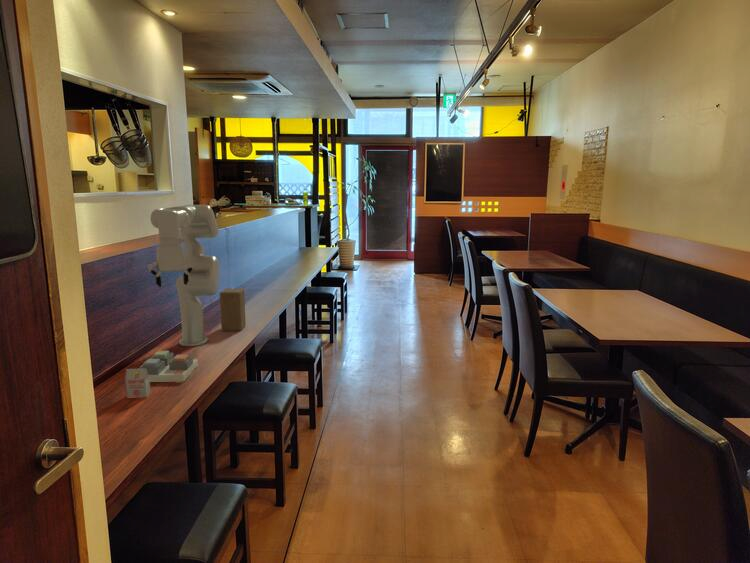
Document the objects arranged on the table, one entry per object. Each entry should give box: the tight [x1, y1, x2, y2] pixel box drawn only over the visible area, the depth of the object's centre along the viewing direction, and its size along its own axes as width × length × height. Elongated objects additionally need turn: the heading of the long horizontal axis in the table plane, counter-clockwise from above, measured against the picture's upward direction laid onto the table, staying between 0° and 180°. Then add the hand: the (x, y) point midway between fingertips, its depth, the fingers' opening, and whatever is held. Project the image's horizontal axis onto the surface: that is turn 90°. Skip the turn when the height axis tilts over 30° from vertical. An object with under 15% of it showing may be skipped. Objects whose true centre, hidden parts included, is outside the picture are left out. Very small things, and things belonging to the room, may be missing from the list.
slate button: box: [143, 358, 160, 366], centre depth 178 cm, size 4×4×2 cm
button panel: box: [138, 352, 199, 382], centre depth 183 cm, size 16×16×6 cm
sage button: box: [153, 350, 170, 358], centre depth 187 cm, size 4×4×2 cm
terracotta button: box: [173, 354, 189, 362], centre depth 183 cm, size 4×4×2 cm
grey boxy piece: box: [124, 368, 152, 398], centre depth 164 cm, size 4×7×10 cm, turn 96°
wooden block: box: [219, 288, 247, 332], centre depth 242 cm, size 10×10×20 cm
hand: (172, 285), depth 189 cm, fingers open, 9 cm apart
